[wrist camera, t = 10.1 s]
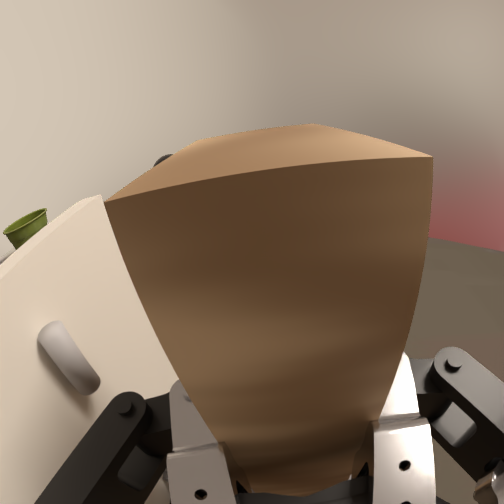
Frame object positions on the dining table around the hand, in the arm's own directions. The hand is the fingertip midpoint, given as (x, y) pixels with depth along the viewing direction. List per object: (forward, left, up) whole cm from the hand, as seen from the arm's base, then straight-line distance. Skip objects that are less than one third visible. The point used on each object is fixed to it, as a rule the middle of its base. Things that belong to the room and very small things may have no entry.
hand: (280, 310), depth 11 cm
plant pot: (-49, +35, -13) cm, 62 cm away
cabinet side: (-3, -4, -12) cm, 13 cm away
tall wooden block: (0, -3, -8) cm, 9 cm away
